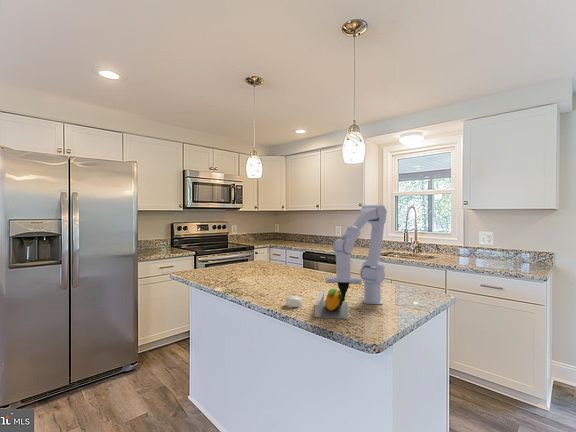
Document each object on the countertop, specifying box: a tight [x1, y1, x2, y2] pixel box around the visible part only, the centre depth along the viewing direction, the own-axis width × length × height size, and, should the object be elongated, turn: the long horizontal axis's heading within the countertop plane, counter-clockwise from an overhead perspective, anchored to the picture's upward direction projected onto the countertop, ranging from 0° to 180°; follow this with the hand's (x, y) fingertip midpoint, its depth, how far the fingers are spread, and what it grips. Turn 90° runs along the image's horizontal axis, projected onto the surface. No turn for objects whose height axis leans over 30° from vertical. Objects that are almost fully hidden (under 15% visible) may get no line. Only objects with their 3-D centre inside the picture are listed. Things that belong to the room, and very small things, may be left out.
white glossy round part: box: [285, 295, 303, 308], centre depth 132 cm, size 7×7×4 cm
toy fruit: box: [324, 288, 343, 311], centre depth 125 cm, size 7×8×20 cm
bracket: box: [314, 290, 348, 321], centre depth 126 cm, size 22×12×5 cm, turn 168°
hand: (343, 300), depth 125 cm, fingers closed
